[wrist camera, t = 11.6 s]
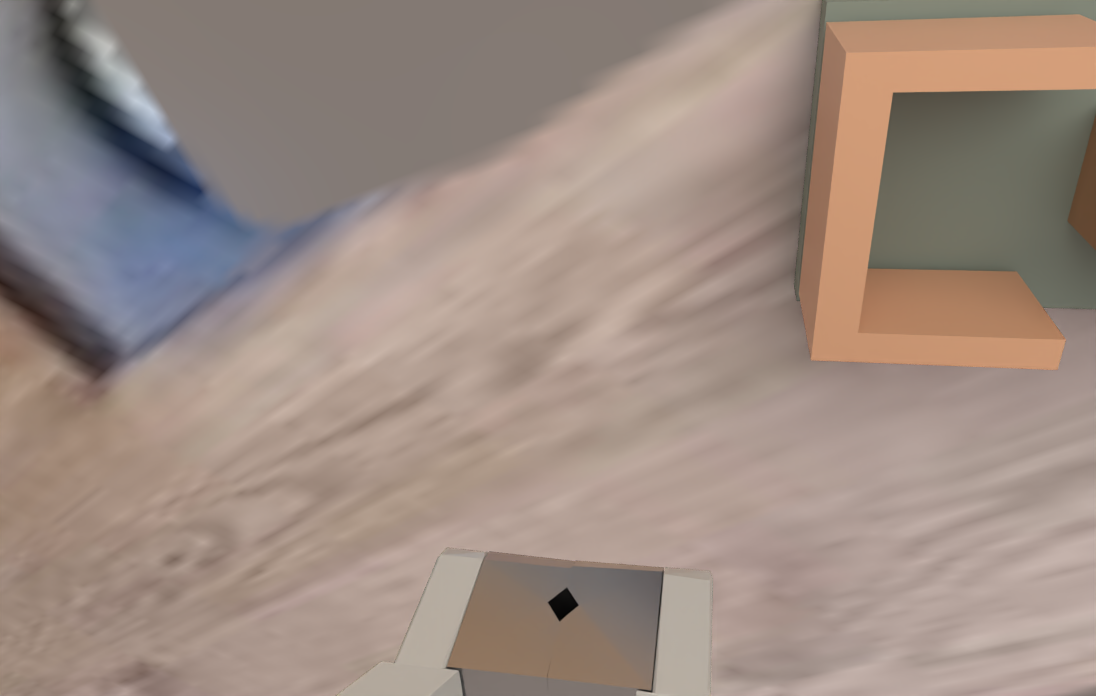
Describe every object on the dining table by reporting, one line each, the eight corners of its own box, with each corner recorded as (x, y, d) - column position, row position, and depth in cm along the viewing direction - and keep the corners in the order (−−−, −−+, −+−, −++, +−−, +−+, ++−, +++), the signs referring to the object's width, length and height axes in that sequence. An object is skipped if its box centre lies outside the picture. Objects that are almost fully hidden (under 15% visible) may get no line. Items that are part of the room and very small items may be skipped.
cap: (798, 292, 23) (810, 360, 20) (826, 22, 20) (846, 52, 17) (1010, 298, 22) (1057, 369, 19) (1079, 14, 19) (1150, 45, 16)
